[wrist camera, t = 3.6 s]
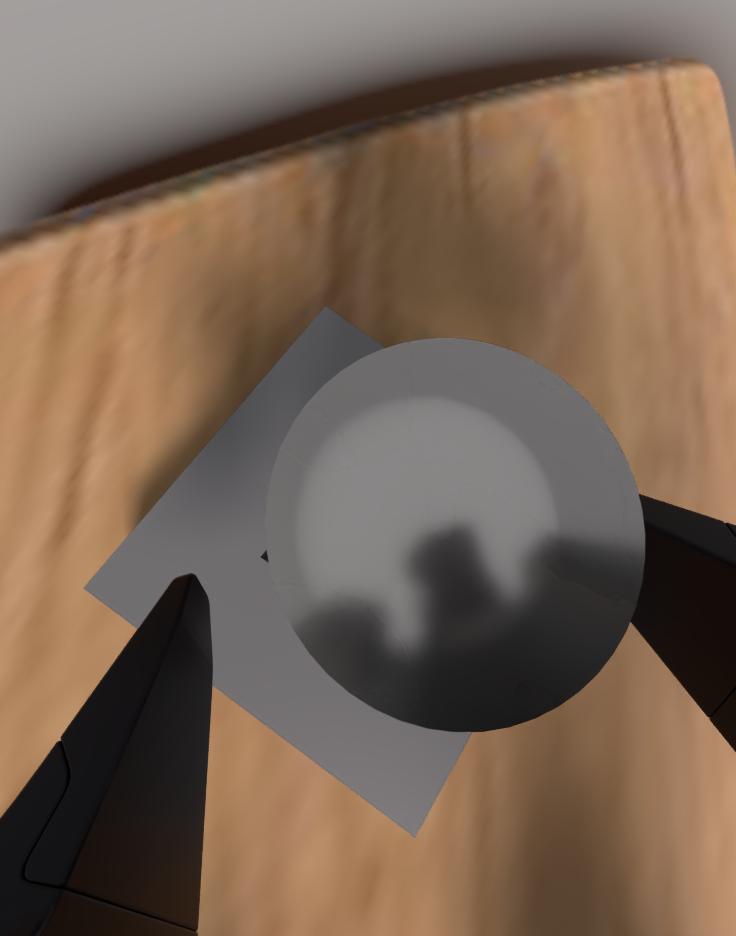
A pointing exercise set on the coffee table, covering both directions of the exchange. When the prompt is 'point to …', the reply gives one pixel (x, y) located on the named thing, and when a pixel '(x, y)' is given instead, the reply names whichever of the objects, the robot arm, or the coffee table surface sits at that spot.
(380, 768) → the pocket block
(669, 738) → the coffee table surface
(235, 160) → the coffee table surface
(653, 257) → the coffee table surface
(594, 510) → the steel peg
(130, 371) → the coffee table surface
